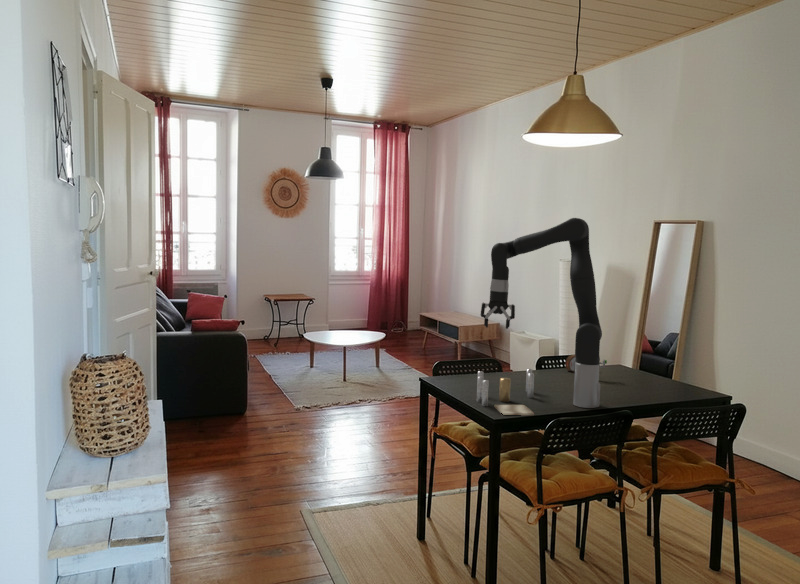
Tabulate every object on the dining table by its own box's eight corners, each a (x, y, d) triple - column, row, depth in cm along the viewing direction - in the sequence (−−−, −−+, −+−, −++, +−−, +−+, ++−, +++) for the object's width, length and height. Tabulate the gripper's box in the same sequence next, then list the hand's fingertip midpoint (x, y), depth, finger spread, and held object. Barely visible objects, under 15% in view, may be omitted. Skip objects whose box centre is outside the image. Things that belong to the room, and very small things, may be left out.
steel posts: (530, 391, 265) (531, 368, 264) (550, 406, 242) (551, 381, 241) (467, 391, 261) (468, 368, 260) (481, 406, 238) (482, 381, 237)
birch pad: (523, 406, 240) (523, 404, 239) (534, 415, 228) (534, 413, 228) (494, 406, 238) (494, 404, 238) (503, 415, 226) (503, 413, 226)
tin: (584, 369, 317) (585, 353, 316) (589, 370, 314) (590, 354, 314) (564, 371, 309) (565, 355, 308) (569, 372, 306) (569, 356, 306)
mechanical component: (605, 381, 290) (607, 360, 289) (583, 379, 292) (584, 358, 291) (605, 379, 292) (606, 359, 292) (582, 378, 294) (584, 357, 294)
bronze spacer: (507, 399, 251) (508, 377, 250) (511, 401, 246) (512, 380, 245) (497, 399, 250) (498, 377, 249) (500, 401, 246) (501, 380, 245)
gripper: (483, 290, 254) (480, 328, 256) (517, 291, 254) (514, 330, 255) (481, 288, 262) (479, 325, 263) (514, 290, 261) (512, 327, 263)
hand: (496, 327), depth 259 cm, fingers open, 8 cm apart
